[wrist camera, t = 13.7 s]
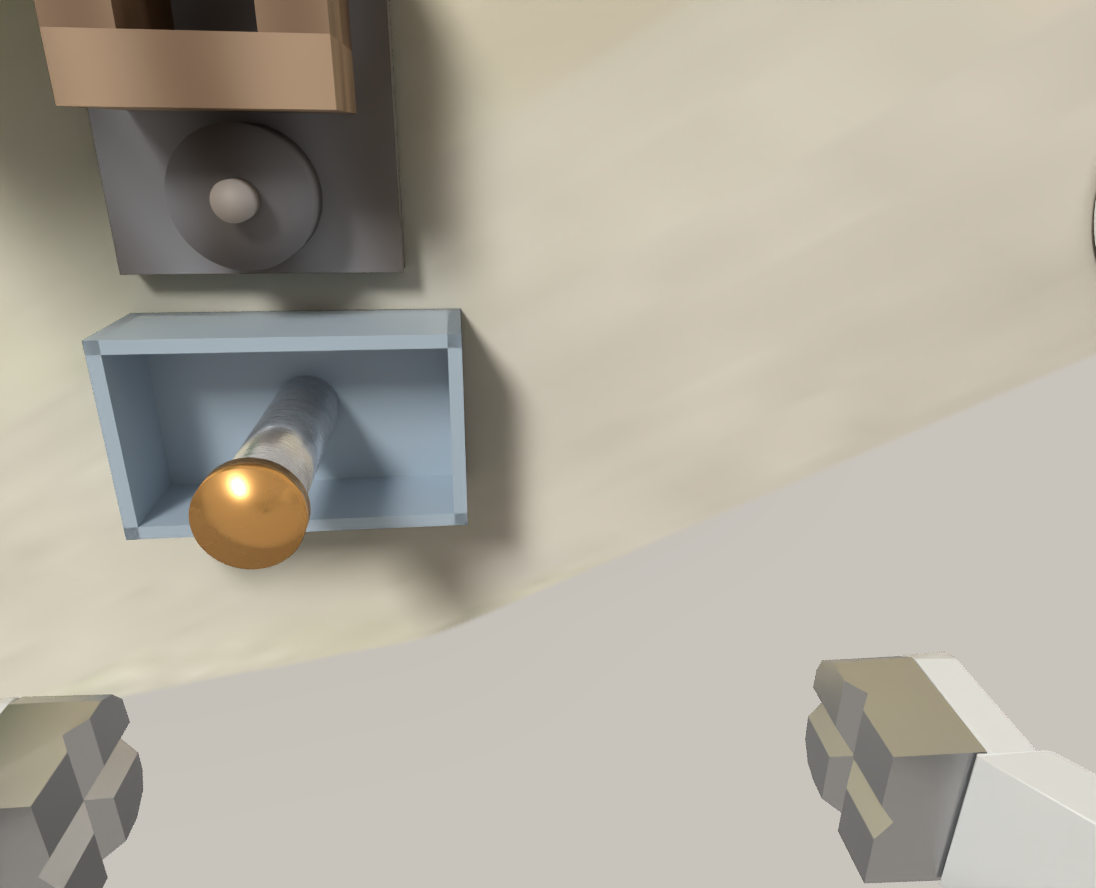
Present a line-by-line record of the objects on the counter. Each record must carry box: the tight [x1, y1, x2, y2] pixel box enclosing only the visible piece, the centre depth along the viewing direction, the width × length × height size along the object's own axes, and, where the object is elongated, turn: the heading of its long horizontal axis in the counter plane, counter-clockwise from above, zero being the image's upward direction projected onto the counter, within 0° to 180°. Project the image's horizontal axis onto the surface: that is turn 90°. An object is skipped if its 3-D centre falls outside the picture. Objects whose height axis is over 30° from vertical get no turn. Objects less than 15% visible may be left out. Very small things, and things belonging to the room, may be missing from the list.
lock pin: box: [189, 376, 340, 569], centre depth 32 cm, size 4×4×12 cm
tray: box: [82, 309, 468, 540], centre depth 35 cm, size 15×9×5 cm, turn 90°
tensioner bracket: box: [34, 0, 405, 275], centre depth 29 cm, size 12×16×8 cm
